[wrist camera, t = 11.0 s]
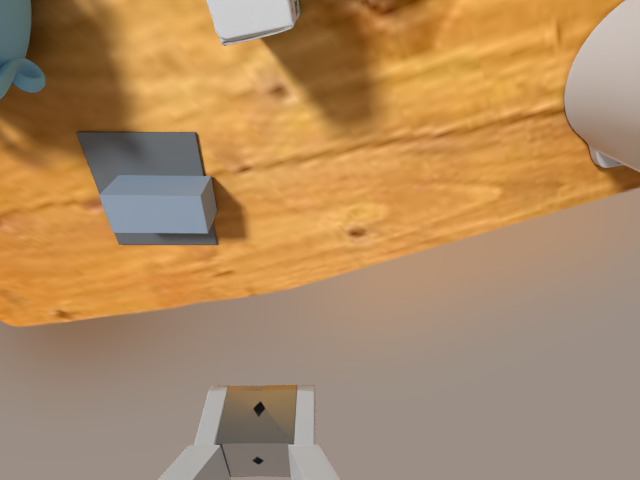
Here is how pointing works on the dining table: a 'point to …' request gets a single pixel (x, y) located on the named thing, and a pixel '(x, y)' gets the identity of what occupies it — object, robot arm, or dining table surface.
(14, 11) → the decorative pot
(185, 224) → the block
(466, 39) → the dining table surface
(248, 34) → the ink box
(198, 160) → the mat
